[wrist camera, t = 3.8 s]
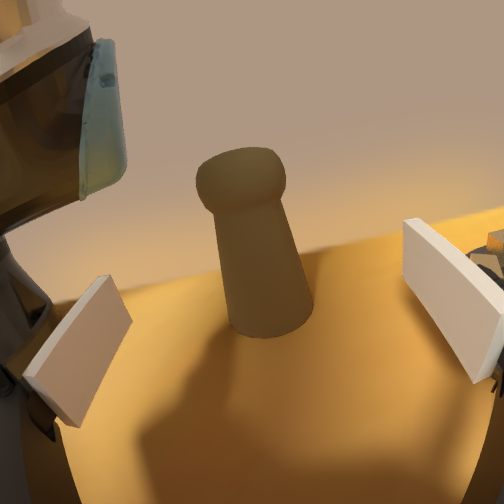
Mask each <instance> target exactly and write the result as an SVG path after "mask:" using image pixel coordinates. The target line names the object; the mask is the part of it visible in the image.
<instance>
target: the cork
mask: <svg viewBox="0 0 504 504" xmlns="http://www.w3.org/2000/svg"><path fill="white" fill-rule="evenodd" d="M285 186H286V175H285V169H284V166H283V164H282V162H281V160H280V158H279V157H278V156H277V154H276V153H275V152H274V151H273V150H270V149H268V148H258V147H248V148H240V149H235V150H231V151H227V152H224V153H221V154H219V155H217V156H214V157H212V158H211V159H209V160H207V161H205V162H204V163H203V164H202V165H201V166H200V167H199V168H198V172H197V175H196V188H197V191H198V195H199V197H200V199H201V201H202V203H203V204H204V206H205V208H206V209H208V210H209V211H210V212H211V213H213V214H214V222H215V229H216V236H217V244H218V250H219V257H220V264H221V271H222V278H223V285H224V291H225V298H226V304H227V310H228V316H229V321H230V323H231V326H232V328H234V329H235V330H236V331H237V332H238V333H240V334H242V335H245V336H248V337H253V338H270V337H276V336H281V335H283V334H286V333H288V332H291V331H293V330H295V329H296V328H298V327H299V326H301V325H302V324H304V323H305V321H306V320H307V319H308V318H309V316H310V315H311V313H312V309H313V302H312V298H311V295H310V291H309V288H308V285H307V281H306V278H305V275H304V271H303V268H302V265H301V262H300V258H299V255H298V252H297V249H296V246H295V243H294V239H293V236H292V233H291V230H290V227H289V224H288V221H287V218H286V215H285V212H284V209H283V206H282V203H281V200H280V199H281V197H282V194H283V192H284V190H285Z"/></svg>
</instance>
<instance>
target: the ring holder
mask: <svg viewBox="0 0 504 504" xmlns="http://www.w3.org/2000/svg"><path fill="white" fill-rule="evenodd" d="M465 256H467V257H468V258H469V259H470V260H471V261H472V262H473V263H474V264H476V265H477V264H481V265H483V266H485V267H487V268H489V269H491V270H492V271H493V272H494V273H496V274H497V275H498V276H499V277H500V279H502V280H503V281H504V229H502V230H498V231H494V232H490V233H488V239H487V245H486V246H483V247H480V248H477V249H475V250H473V251H471V252H469V253H468V254H466V255H465ZM501 371H502V369H501V367H500V366H499V364H498V363H497V364H496V366H495V369H494V371H493V373H492V375H491V377H492V378H493V379H495V380H496V381H497V379H498V377H499V375H500V373H501Z"/></svg>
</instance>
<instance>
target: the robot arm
mask: <svg viewBox="0 0 504 504" xmlns="http://www.w3.org/2000/svg"><path fill="white" fill-rule="evenodd" d="M115 55H116V54H115V43H114V41H113V40H112V39H103V38H100V39H98V40H97V41H96V42H95V43H94V41H93V39H92V34H91V30H90V26H89V22H88V21H87V20H85V19H82V18H80V17H77V16H75V15H72V14H70V13H67V12H66V11H65V9H64V8H63V6H62V1H61V0H0V504H82V503H81V500H80V498H79V495H78V492H77V489H76V486H75V483H74V480H73V477H72V474H71V471H70V467H69V464H68V460H67V457H66V453H65V449H64V445H63V441H62V437H61V432H60V428H59V426H58V424H57V423H56V422H55V421H54V420H55V418H56V416H58V417H59V418H60V419H61V420H62V421H63V423H64V424H65V425H67V426H72V427H77V428H80V427H81V424H82V422H83V420H84V418H85V415H86V413H87V411H88V409H89V407H90V405H91V402H92V400H93V398H94V396H95V394H96V392H97V390H98V388H99V386H100V384H101V382H102V380H103V378H104V375H105V373H106V371H107V369H108V367H109V365H110V364H111V362H112V360H113V358H114V356H115V354H116V352H117V350H118V348H119V346H120V344H121V342H122V340H123V338H124V337H125V335H126V333H127V331H128V329H129V327H130V325H131V324H132V322H133V321H132V319H131V317H130V315H129V313H128V311H127V309H126V307H125V305H124V303H123V301H122V299H121V297H120V294H119V292H118V290H117V288H116V286H115V284H114V282H113V279H112V277H111V275H104V276H99V277H98V278H97V279H96V280H95V281H94V282H93V283H92V284H91V286H90V287H89V288H88V289H87V290H86V291H85V293H84V294H83V295H82V296H81V297H80V299H79V300H78V301H77V302H76V303H75V305H74V306H73V307H72V308H71V310H70V311H69V312H68V313H67V315H66V316H65V317H64V318H63V320H62V321H61V322H60V316H59V314H58V312H57V310H56V308H55V307H54V305H53V303H52V301H51V300H50V298H49V297H48V296H47V294H46V293H45V292H44V291H43V290H42V289H41V288H40V287H39V286H38V285H37V284H36V283H35V282H34V281H33V280H32V279H31V278H30V276H29V275H28V274H27V273H26V272H25V271H24V270H23V269H22V267H21V266H20V265H19V264H18V263H17V262H16V260H15V259H14V257H13V255H12V253H11V251H10V248H9V246H8V244H7V241H6V239H5V236H4V234H6V233H8V232H10V231H12V230H14V229H16V228H18V227H20V226H22V225H24V224H26V223H28V222H30V221H32V220H35V219H37V218H38V217H41V216H43V215H45V214H48V213H50V212H52V211H54V210H56V209H59V208H61V207H63V206H65V205H68V204H70V203H73V202H75V201H78V200H80V201H83V200H85V199H86V197H87V196H88V195H90V194H92V193H95V192H97V191H99V190H101V189H104V188H106V187H108V186H111V185H113V184H115V183H116V182H117V181H119V180H120V179H121V177H122V176H123V174H124V173H125V171H126V167H127V152H126V144H125V137H124V129H123V121H122V113H121V105H120V96H119V86H118V76H117V64H116V56H115ZM402 277H403V279H404V280H405V281H406V282H407V284H408V285H409V287H410V288H411V289H412V291H413V292H414V293H415V295H416V296H417V297H418V299H419V300H420V302H421V303H422V304H423V306H424V307H425V309H426V310H427V312H428V313H429V314H430V316H431V317H432V319H433V320H434V322H435V323H436V325H437V326H438V328H439V329H440V331H441V332H442V334H443V335H444V337H445V338H446V340H447V341H448V343H449V345H450V346H451V348H452V349H453V351H454V352H455V354H456V356H457V357H458V359H459V361H460V362H461V364H462V365H463V367H464V369H465V371H466V372H467V374H468V376H469V377H470V379H471V381H472V383H473V384H475V383H477V382H479V381H481V380H484V379H486V378H488V377H490V376H491V375H492V373H493V371H494V369H495V366H496V364H497V363H498V364H499V366H500V367H501V369H502V371H501V373H500V375H499V377H498V379H497V381H496V383H495V384H494V386H493V388H492V391H491V393H494V391H495V389H496V388H497V391H496V396H495V401H494V406H493V410H492V415H491V419H490V423H489V427H488V430H487V434H486V438H485V441H484V444H483V448H482V451H481V454H480V457H479V460H478V463H477V466H476V468H475V471H474V474H473V476H472V479H471V481H470V484H469V486H468V489H467V491H466V493H465V496H464V498H463V500H462V502H461V504H504V281H503V280H502V279H500V277H499V276H498V275H497V274H496V273H494V272H493V271H492V270H491V269H489V268H487V267H485V266H483V265H481V264H477V265H476V264H474V263H473V262H472V261H471V260H470V259H469V258H468V257H467V256H465V255H464V254H463V253H462V252H461V251H460V250H458V249H457V248H456V247H455V246H454V245H452V244H451V243H450V242H449V241H448V240H446V239H445V238H444V237H443V236H441V235H440V234H439V233H438V232H436V231H435V230H434V229H433V228H431V227H430V226H429V225H427V224H426V223H424V222H423V221H422V220H421V219H419V218H413V219H407V220H403V270H402ZM19 380H20V381H19Z"/></svg>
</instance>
